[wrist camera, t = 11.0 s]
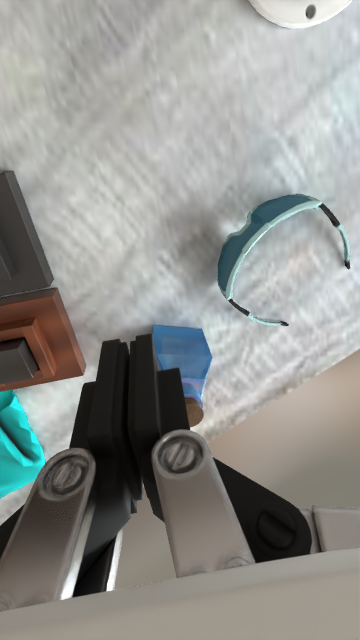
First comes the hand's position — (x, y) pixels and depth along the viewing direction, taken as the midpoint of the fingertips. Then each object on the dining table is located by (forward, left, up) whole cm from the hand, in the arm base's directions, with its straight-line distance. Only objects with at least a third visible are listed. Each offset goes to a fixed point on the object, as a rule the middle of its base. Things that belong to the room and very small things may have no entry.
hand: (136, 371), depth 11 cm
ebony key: (+11, -16, -22) cm, 29 cm away
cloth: (+30, -26, -26) cm, 47 cm away
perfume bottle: (+17, +2, -26) cm, 31 cm away
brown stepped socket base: (+11, -16, -25) cm, 32 cm away
